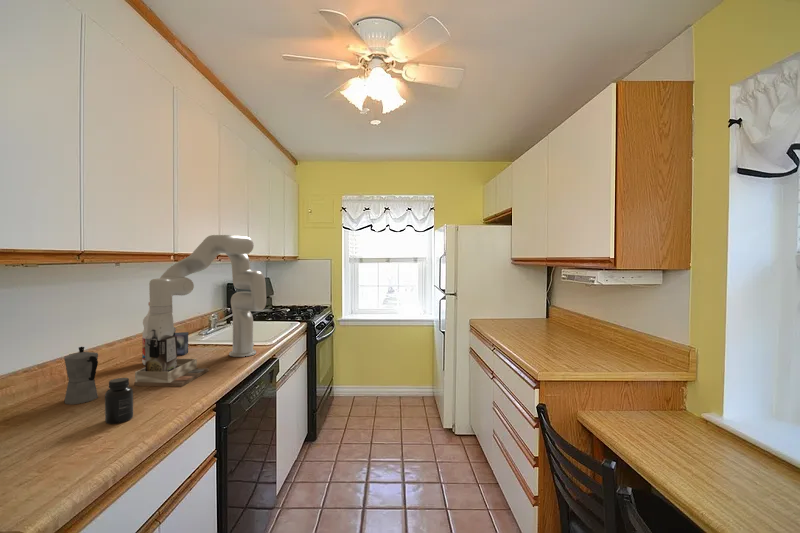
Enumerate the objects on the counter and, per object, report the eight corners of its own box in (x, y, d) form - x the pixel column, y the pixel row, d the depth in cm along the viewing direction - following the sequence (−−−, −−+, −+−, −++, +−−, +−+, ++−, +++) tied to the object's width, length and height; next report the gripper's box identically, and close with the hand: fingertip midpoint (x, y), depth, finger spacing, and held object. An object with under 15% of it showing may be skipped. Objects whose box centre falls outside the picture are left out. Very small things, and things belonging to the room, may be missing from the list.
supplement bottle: (134, 413, 120) (135, 375, 119) (131, 422, 113) (131, 381, 113) (107, 417, 116) (107, 378, 116) (102, 426, 110) (102, 384, 110)
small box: (160, 356, 187) (160, 335, 187) (165, 353, 194) (165, 332, 194) (184, 355, 190) (184, 334, 189) (188, 352, 196) (188, 332, 196)
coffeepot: (54, 400, 129) (53, 347, 128) (86, 392, 137) (86, 342, 137) (79, 409, 122) (79, 352, 122) (112, 399, 131) (112, 346, 130)
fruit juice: (167, 364, 174) (167, 302, 174) (142, 366, 169) (142, 303, 169) (166, 359, 182) (166, 300, 182) (142, 361, 177) (142, 301, 177)
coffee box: (177, 376, 153) (178, 335, 153) (166, 381, 147) (166, 339, 147) (156, 375, 154) (156, 335, 154) (144, 380, 148) (144, 338, 147)
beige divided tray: (166, 370, 165) (166, 358, 165) (208, 370, 165) (208, 358, 165) (134, 385, 145) (134, 372, 145) (182, 386, 145) (182, 372, 145)
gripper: (165, 306, 158) (165, 347, 159) (136, 313, 141) (137, 359, 142) (183, 306, 158) (183, 348, 159) (157, 313, 141) (157, 359, 142)
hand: (162, 353), depth 151 cm, fingers open, 9 cm apart
